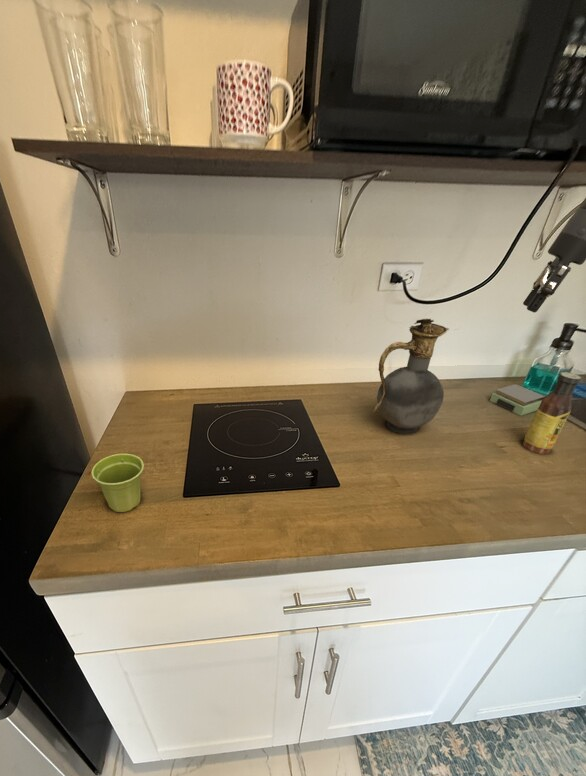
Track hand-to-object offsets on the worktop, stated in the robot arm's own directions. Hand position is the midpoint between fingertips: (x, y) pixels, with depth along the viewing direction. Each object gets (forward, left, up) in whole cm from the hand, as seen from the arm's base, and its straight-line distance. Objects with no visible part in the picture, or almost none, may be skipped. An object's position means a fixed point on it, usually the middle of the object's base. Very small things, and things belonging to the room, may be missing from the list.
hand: (528, 308), depth 93 cm
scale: (-17, -2, -31) cm, 35 cm away
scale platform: (-17, -2, -28) cm, 33 cm away
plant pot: (+97, -9, -31) cm, 102 cm away
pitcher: (+26, -7, -31) cm, 42 cm away
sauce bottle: (0, +15, -31) cm, 35 cm away
